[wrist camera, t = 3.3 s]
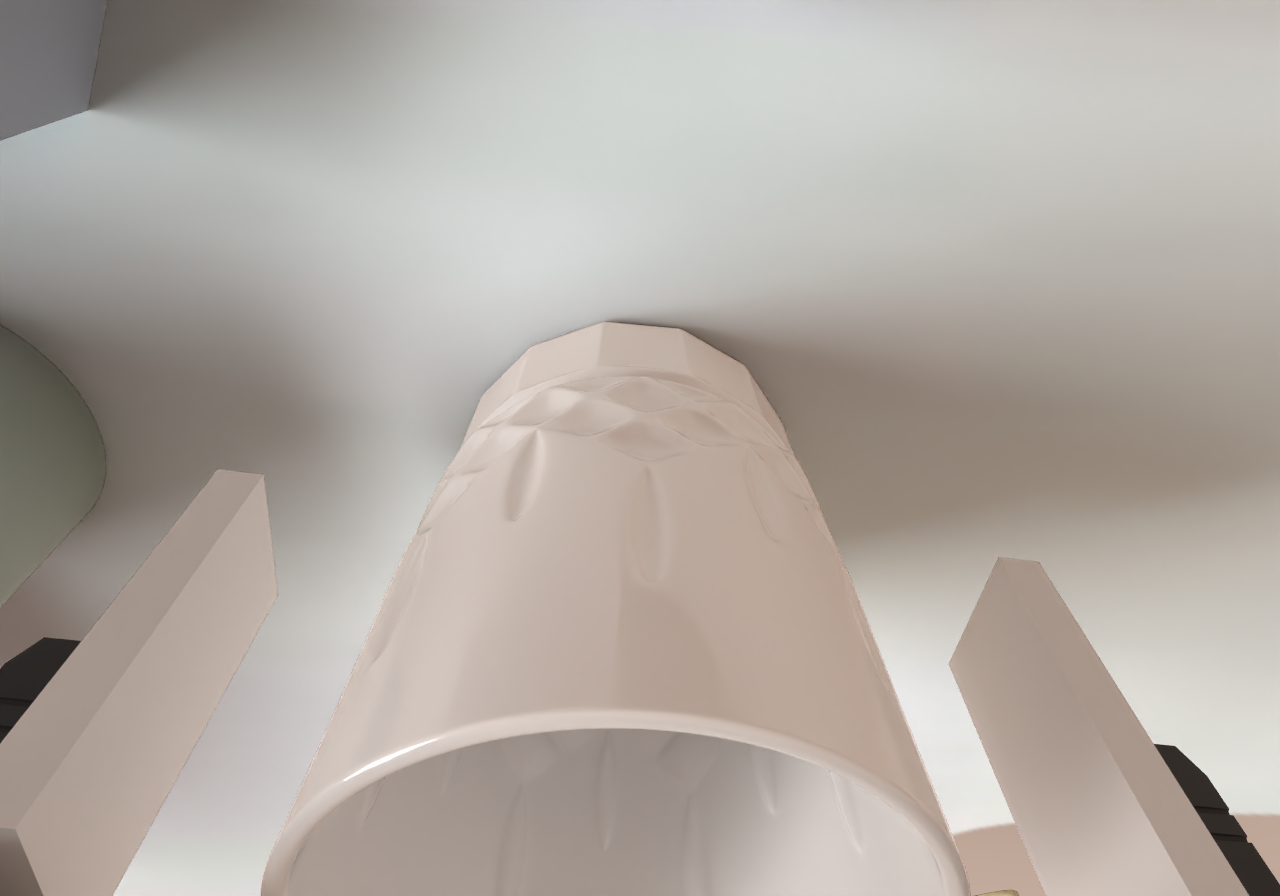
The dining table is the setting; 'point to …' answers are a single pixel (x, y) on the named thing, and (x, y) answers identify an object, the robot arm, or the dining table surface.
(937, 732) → the dining table surface
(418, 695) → the white cup
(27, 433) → the grayish green cylinder
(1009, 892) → the toy refrigerator
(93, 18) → the slate blue block
